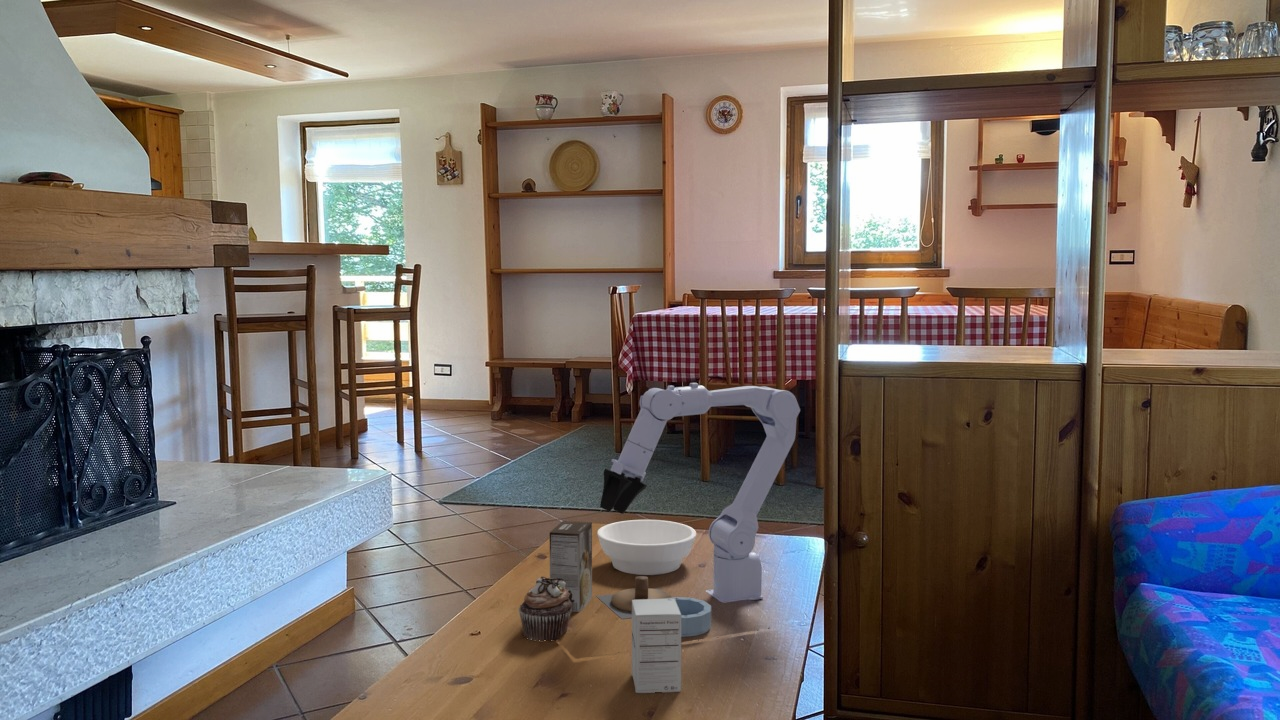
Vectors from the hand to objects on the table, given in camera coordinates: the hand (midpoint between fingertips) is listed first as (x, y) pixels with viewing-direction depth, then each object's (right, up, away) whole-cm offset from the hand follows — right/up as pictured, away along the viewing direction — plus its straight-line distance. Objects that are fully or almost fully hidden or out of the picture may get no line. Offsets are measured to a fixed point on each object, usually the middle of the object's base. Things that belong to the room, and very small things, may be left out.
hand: (611, 510), depth 175 cm
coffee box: (-8, -20, +4) cm, 22 cm away
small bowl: (+13, -21, -7) cm, 25 cm away
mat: (+6, -20, +5) cm, 21 cm away
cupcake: (-12, -21, -10) cm, 26 cm away
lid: (+6, -19, +5) cm, 20 cm away
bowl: (+7, -18, +30) cm, 36 cm away
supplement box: (+8, -23, -31) cm, 39 cm away
